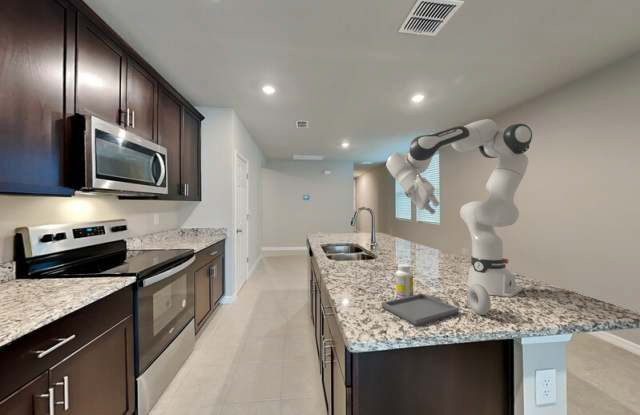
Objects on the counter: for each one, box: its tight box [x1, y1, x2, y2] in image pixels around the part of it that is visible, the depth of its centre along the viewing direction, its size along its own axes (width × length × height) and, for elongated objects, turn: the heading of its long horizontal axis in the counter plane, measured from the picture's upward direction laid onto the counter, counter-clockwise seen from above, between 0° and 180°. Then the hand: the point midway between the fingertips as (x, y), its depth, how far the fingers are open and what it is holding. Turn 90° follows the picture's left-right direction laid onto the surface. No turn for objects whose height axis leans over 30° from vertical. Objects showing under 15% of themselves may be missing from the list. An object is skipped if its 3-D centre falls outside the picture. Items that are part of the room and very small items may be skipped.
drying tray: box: [381, 293, 460, 327], centre depth 89 cm, size 20×16×2 cm
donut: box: [466, 284, 492, 316], centre depth 86 cm, size 10×4×10 cm, turn 179°
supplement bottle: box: [395, 263, 414, 298], centre depth 103 cm, size 7×7×13 cm
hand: (435, 209), depth 99 cm, fingers open, 8 cm apart
